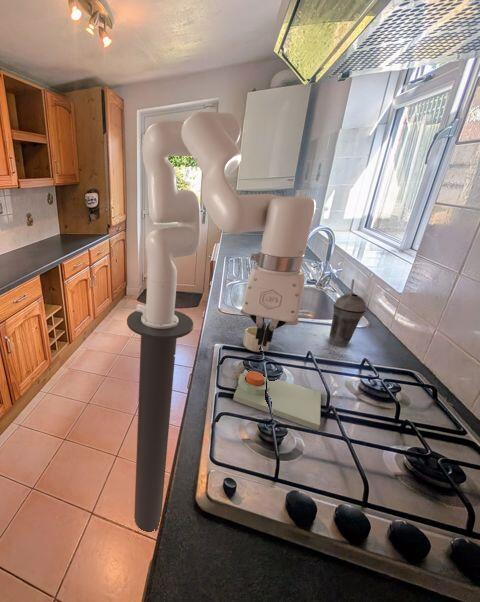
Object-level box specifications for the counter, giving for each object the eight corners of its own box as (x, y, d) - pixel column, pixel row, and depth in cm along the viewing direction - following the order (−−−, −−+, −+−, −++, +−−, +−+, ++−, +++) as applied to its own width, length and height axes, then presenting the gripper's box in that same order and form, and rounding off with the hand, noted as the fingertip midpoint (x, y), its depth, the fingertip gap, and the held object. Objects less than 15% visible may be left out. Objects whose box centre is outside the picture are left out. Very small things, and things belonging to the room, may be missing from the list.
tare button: (244, 382, 70) (245, 376, 69) (247, 375, 73) (248, 369, 72) (261, 388, 68) (263, 382, 67) (264, 380, 71) (265, 374, 70)
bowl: (240, 348, 89) (243, 333, 87) (245, 339, 94) (248, 324, 92) (266, 355, 85) (269, 340, 83) (269, 345, 90) (273, 330, 88)
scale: (231, 399, 69) (233, 389, 67) (243, 373, 78) (244, 363, 76) (318, 430, 60) (322, 419, 59) (319, 397, 69) (322, 386, 68)
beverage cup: (359, 349, 87) (382, 284, 79) (331, 348, 88) (351, 283, 80) (344, 337, 93) (364, 276, 86) (318, 336, 94) (336, 275, 87)
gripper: (234, 261, 61) (222, 341, 68) (325, 272, 53) (301, 361, 59) (242, 254, 66) (230, 328, 73) (326, 263, 58) (303, 345, 65)
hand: (262, 342), depth 66 cm, fingers closed
